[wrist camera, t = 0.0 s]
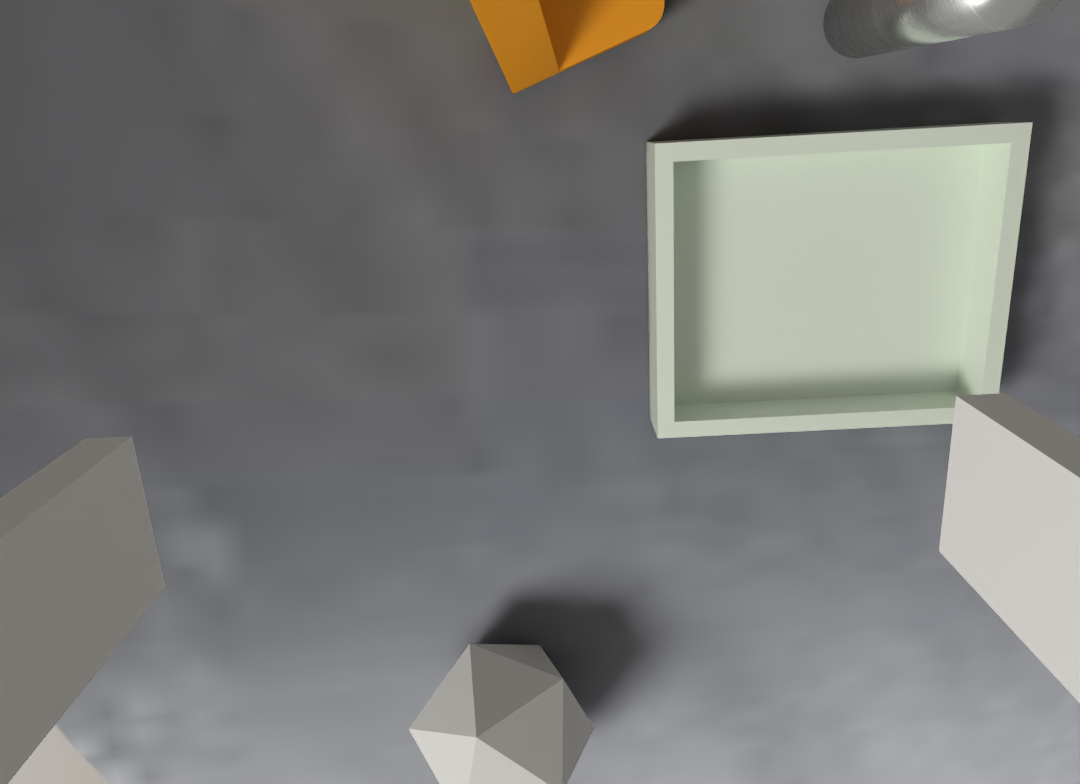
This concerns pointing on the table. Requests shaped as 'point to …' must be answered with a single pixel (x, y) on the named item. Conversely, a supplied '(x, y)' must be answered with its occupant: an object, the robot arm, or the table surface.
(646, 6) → the bracket
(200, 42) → the table surface
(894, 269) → the tray
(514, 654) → the die
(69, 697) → the robot arm
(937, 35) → the cylinder
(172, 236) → the table surface
